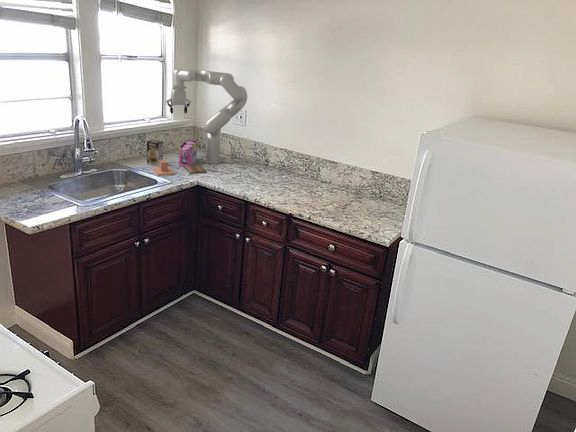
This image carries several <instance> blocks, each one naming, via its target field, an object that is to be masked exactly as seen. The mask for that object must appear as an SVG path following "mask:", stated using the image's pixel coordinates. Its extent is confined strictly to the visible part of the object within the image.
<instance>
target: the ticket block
mask: <svg viewBox="0 0 576 432" xmlns="http://www.w3.org/2000/svg"><path fill="white" fill-rule="evenodd" d="M183 168H184V170H186V171H187V172H188V174H190V175H193V174H206V173H207V170H206V169H205V168H204V167H203V166H201V164H195V165H193V164H192V165H190V166H184V167H183Z"/></svg>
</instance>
